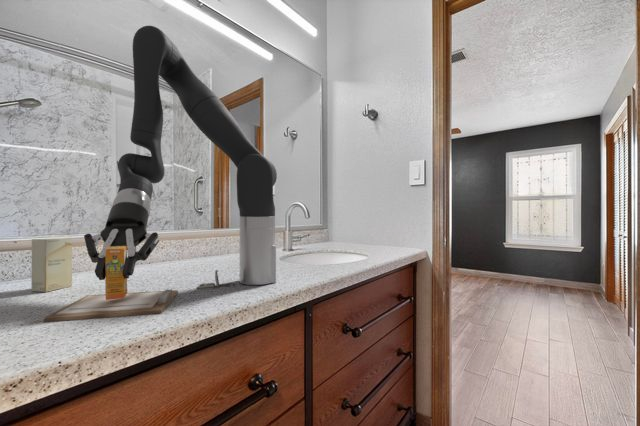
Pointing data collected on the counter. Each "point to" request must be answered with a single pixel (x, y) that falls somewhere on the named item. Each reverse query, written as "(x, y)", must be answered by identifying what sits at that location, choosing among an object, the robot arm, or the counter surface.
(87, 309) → the wooden board
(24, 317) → the counter surface
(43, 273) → the skincare box
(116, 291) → the supplement box
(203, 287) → the strap clip
